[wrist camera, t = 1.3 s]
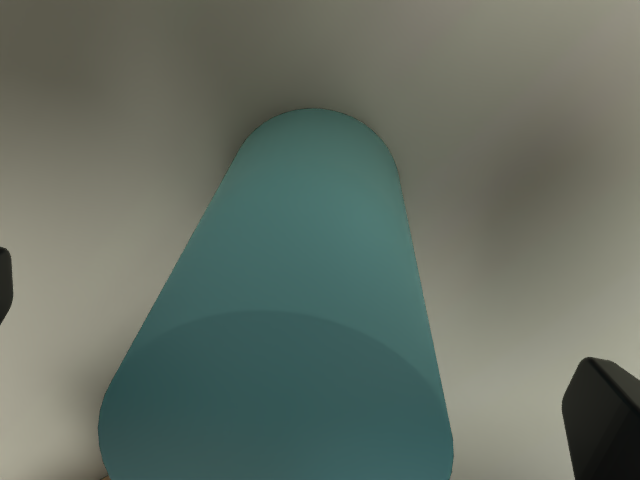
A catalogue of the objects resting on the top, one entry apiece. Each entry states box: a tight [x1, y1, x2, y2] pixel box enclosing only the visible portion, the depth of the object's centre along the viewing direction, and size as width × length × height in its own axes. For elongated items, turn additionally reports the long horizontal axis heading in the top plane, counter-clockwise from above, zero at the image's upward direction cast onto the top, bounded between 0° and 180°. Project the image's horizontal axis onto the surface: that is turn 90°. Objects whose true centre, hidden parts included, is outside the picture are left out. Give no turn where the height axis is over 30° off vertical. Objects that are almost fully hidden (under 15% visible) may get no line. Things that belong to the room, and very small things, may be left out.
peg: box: [98, 109, 454, 480], centre depth 10 cm, size 4×4×8 cm
